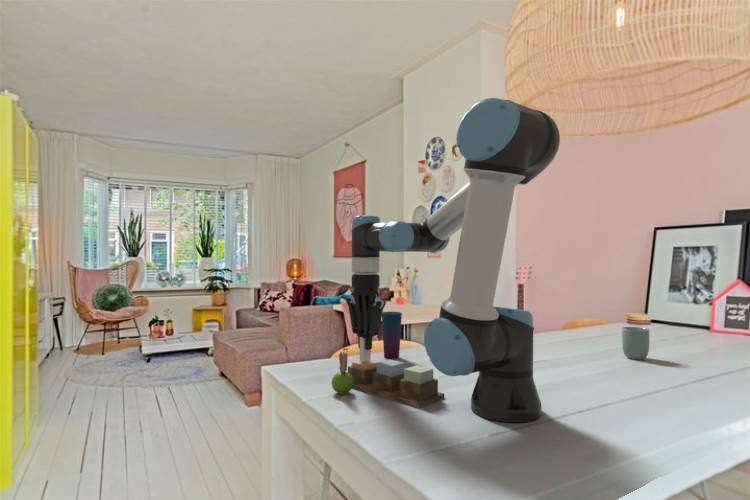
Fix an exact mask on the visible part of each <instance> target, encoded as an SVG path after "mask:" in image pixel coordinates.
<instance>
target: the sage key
mask: <svg viewBox="0 0 750 500" xmlns="http://www.w3.org/2000/svg"><path fill="white" fill-rule="evenodd" d="M433 379H434V368H432V367H431V368H430V367H428V366H427V367H426V366H423V365H422V366H421V365H418V364H417V365H413V366H410V367H405V368H404V380H405V381H409V382H413V383H417V384H420V385H421V384H424V383H427V382H430V381H433Z"/></svg>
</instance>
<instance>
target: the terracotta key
mask: <svg viewBox="0 0 750 500" xmlns="http://www.w3.org/2000/svg"><path fill="white" fill-rule="evenodd" d="M378 362H379V361H375V360H371V361H368V362H364V363H363V362H360V360H357V361H352V362H351V366H352V367H353V368H357V369H361V370H365V371H366V370H369V369H373V368H377V363H378Z"/></svg>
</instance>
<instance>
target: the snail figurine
mask: <svg viewBox="0 0 750 500" xmlns="http://www.w3.org/2000/svg"><path fill="white" fill-rule="evenodd" d="M348 350H349V348H348V347H346V348H343V349H342V351H340V352H339V353H338V354H339V355H338V358H339V361H338V362H339V372H336V373H335V374H334V375H333V376H332V378H331V387H332V389H333V390H334V391H335V393H337V394H339V395H345V394H347V393H349V392H350V391H351V390H352V389H353V388H352V387H353V378H352V376H351V375H350V374H349V373H348V355H349V354H348V352H347V351H348ZM345 351H346V352H345Z"/></svg>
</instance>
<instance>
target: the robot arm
mask: <svg viewBox="0 0 750 500" xmlns="http://www.w3.org/2000/svg"><path fill="white" fill-rule="evenodd" d="M455 138H456V139H455V140H456V146H457V148H458V151H459V153H460V155H461V156H462V157H464V159H465V161H464V167H463V172H464V173H465V174H466V175H467V177H468V179H469V182H467V183H466V184H465V185H464V186H463V187H461V188H460V189H459V190H458V191H457V192H456V193H455V194H453V196H452V197H450V198H449V199H448V200H447V201H445V202H444V203H443V204H442V205H441V206H439V207H438V209H437V210H436V211H434V212H433V213H432V214H431V215H429V216H428V217H427V218H426V219H425V220H423V221H421V222H420V223H419V222H417V223H416V222H406V221H404V220H390V221H383V222H381V219H380V217H379V216H377V215H356V216H354V217H353V218H352V224H351V225H352V226H351V231H350V232H351V272H352V274H351V288H352V289H353V292H352V295H351V296H350V297H346V299H345V301H346V304H347V306H348V311H349V317H350V318H349V319H350V325H351V329H352V330H351V331H352V334H356V336H357V337H358V338H357V339H358V340H357V341H358V345H357V346H358V349H359V361H360V362H363V363H364V362H368V361H372V359H371V355H372V353H371V351H372V349H373V338H374V337H376V336H378V335H379V333H380V329H381V327H380V326H381V323H382V312H384V308H385V307H386V305H387V302H386V300H382V299H381V298H380V294H379V292H378V289H379V288H380V287H381V286H380V279H381V278H380V275H379V272H380V260H381V259H380V258H381V254H380V253H381V252H388V253H389V252H391V253H401V252H407V253H408V252H411V253H412V252H416V253H417V252H419V253H420V252H421V253H435V252H441V251H444V250H445V249H446V248H447V247H448V245H449V242H450V237H452V236H453V235H454V234H455V233H457V232H458V231H460V230H461V232H460V238H459V244H458V249H457V254H456V255H457V256H456V261H455V266H454V271H453V272H454V273H453V279H452V285H451V290H450V295H449V297H448V298H447V299H445V300H443V301H442V302H441V304H440V310H439V317H438V318H437V317H436V318H433V320H431V321H430V322H428V324H427V326H426V327H425V330H424V334H423V335H424V337H423V341H424V348H425V352H426V355H427V357H428V358H429V360H430V362H431V364H432V365H433V367H435V369H437V370H438V371H439V372H440V373H442V374H443V375H445V376H450V377H458V376H459V377H460V376H463V377H465V376H469V375H470V374H473V373H477V372H478V375H477V379H476V381H475V384H474V385H475V386H474V388H473V390H472V393H471V397H470V409H471V410H472V412H473V413H475V414H476V415H478V416H480V417H483V418H485V419H488V420H492V421H495V422H496V421H498V422H504V423H528V422H532V421H533V422H534V421H536V420H538V419H540V417H541V416H542V414H543V413H542V409H543V408H542V401H541V399H540V396H539V393H538V389H537V387H536V383H535V380H534V330H535V327H534V320H533V315H532V312H530V311H529V310H525V309H520V308H510V307H501V306H495V305H494V302H495V297H496V296H495V295H496V290H497V286H498V279H499V274H500V270H501V269H500V268H501V264H502V258H503V253H504V247H505V243H506V237H507V232H508V226H509V221H510V217H511V216H510V215H511V210H512V204H513V201H514V200H513V199H514V195H515V189H516V187H517V186H518V185H520V186H521V185H522V186H523V185H524V186H525V185H527V184H529V183H530V182H531V181H532V180H534V179H535V178H537V177H538V176H539V175H540V174H541V173H543V172H544V170H546V169H547V168H548V166H549V165H550V164H551V163H552V162H553V160H555V157H556V155H557V153H558V151H559V147H560V144H561V143H560V141H561V135H560V131H559V127H558V125H557V123H556V122H555V120H554V119H553V118H552V117H551V116H550V115H549V114H547V113H545V112H543V111H541V110H537V109H533V108H531V107H528V106H525V105H522V104H520V103H517V102H514V101H512V100H510V99H504V98H503V99H502V98H499V97H498V98H497V97H488V98H484V99H481V100H479V101H477V102H476V103H475V104H473V105H472V107H471V108H470V109H468V110H467V111H466V112H465V113H464V115H463V116H462V118H461V120H460V122H459V126H458V128H457V131H456V137H455Z"/></svg>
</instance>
